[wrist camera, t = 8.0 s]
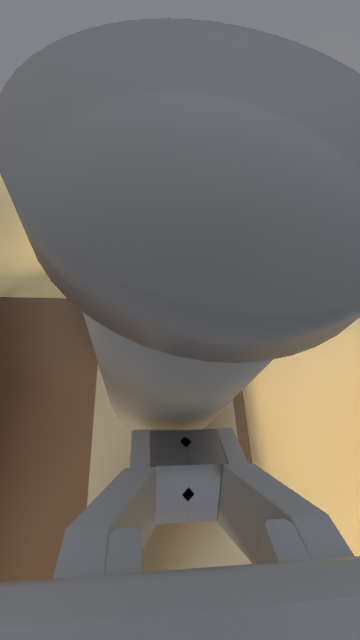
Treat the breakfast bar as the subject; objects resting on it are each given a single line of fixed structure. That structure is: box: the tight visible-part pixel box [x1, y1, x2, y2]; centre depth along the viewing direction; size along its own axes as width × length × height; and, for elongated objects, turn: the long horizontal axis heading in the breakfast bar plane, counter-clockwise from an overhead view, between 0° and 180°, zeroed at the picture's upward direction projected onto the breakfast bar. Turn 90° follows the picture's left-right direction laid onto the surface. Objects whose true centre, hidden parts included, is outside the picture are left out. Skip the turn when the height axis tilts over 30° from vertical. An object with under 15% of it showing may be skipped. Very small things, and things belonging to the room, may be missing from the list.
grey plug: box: [0, 18, 360, 431], centre depth 9 cm, size 6×6×11 cm
